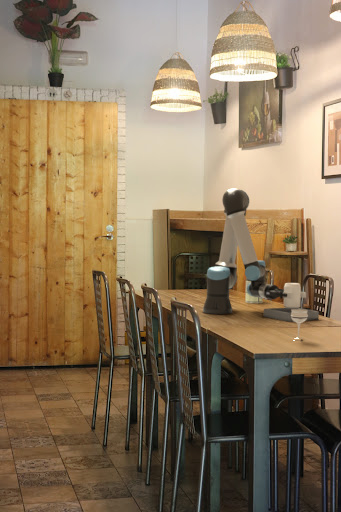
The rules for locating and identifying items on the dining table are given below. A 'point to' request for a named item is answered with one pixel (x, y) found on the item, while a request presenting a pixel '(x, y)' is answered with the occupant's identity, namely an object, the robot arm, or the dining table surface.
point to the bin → (288, 314)
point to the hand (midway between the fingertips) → (298, 295)
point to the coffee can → (250, 298)
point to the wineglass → (299, 317)
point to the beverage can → (296, 291)
